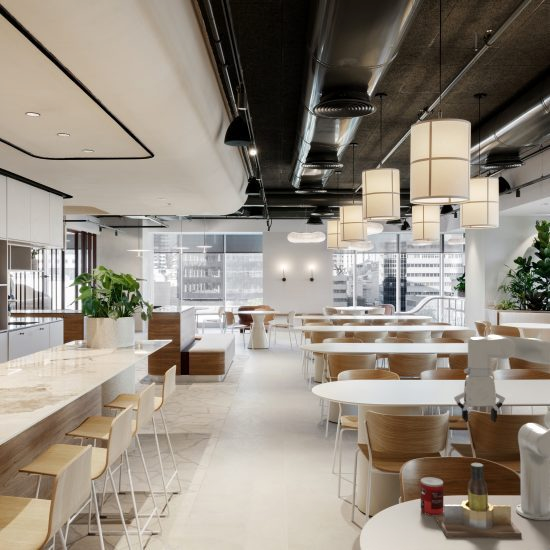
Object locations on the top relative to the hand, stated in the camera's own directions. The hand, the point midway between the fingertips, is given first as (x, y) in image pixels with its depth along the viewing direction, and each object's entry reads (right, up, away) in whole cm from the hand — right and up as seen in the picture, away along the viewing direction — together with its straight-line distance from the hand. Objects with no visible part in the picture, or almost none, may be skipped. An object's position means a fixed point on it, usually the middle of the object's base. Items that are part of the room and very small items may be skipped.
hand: (479, 421), depth 204 cm
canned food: (-16, -34, +4) cm, 37 cm away
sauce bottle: (-4, -32, -9) cm, 34 cm away
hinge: (-4, -32, -9) cm, 34 cm away
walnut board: (-4, -33, -9) cm, 35 cm away
